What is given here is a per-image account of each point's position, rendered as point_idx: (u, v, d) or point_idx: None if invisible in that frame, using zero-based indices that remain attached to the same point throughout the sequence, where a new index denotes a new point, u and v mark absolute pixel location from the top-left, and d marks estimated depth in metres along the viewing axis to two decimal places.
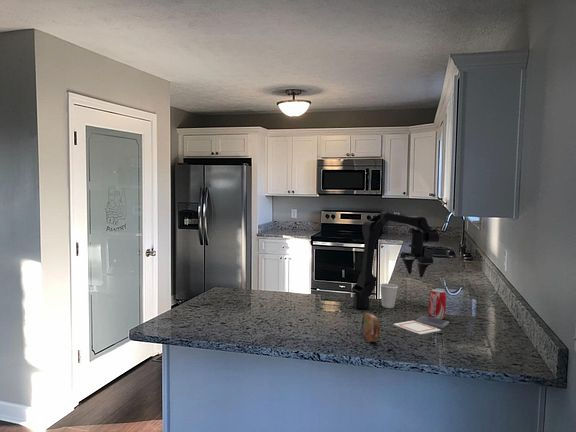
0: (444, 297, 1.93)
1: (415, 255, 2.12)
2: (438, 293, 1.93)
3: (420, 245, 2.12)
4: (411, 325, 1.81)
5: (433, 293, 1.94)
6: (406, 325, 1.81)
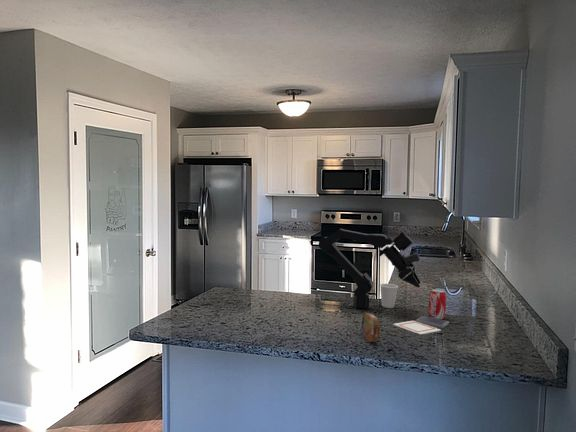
0: (444, 297, 1.93)
1: (399, 271, 1.98)
2: (438, 293, 1.93)
3: (395, 260, 1.98)
4: (411, 325, 1.81)
5: (433, 293, 1.94)
6: (406, 325, 1.81)
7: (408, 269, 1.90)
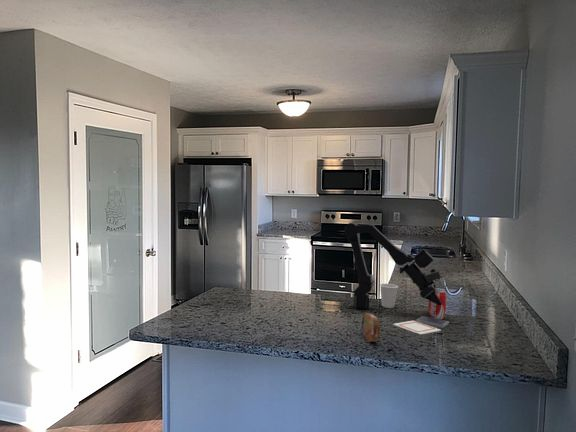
0: (444, 297, 1.93)
1: (420, 289, 1.96)
2: (438, 293, 1.93)
3: (416, 277, 1.96)
4: (411, 325, 1.81)
5: None
6: (406, 325, 1.81)
7: (430, 288, 1.88)
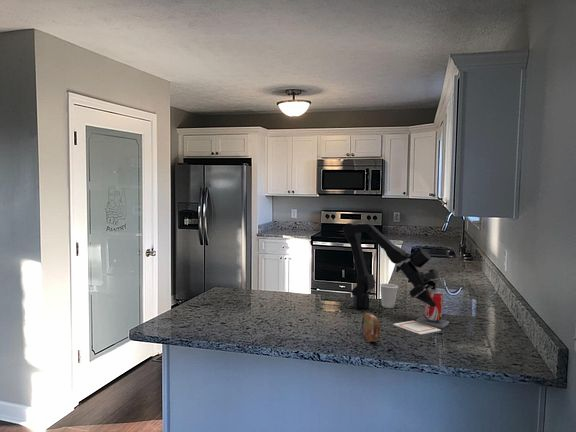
0: (438, 298, 1.83)
1: None
2: (432, 294, 1.84)
3: (411, 277, 1.89)
4: (411, 325, 1.81)
5: None
6: (406, 325, 1.81)
7: (419, 287, 1.81)
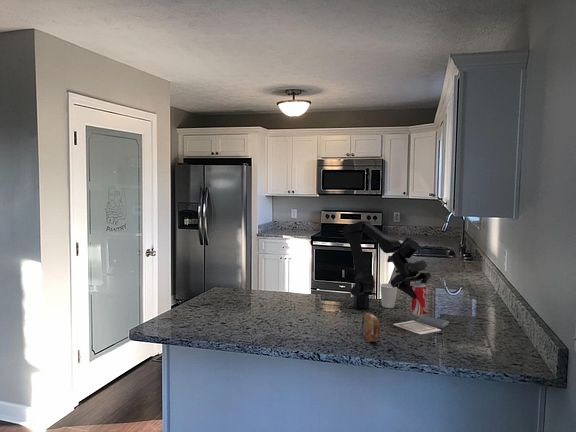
0: (420, 292, 1.76)
1: None
2: (414, 287, 1.77)
3: (398, 267, 1.85)
4: (411, 325, 1.81)
5: None
6: (406, 325, 1.81)
7: (397, 277, 1.76)
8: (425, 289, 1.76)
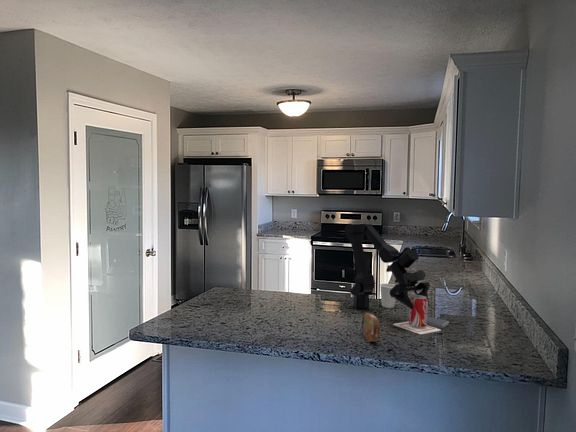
0: (420, 304, 1.77)
1: None
2: (414, 299, 1.78)
3: (397, 277, 1.85)
4: None
5: (411, 298, 1.80)
6: (406, 325, 1.81)
7: (396, 287, 1.76)
8: (425, 301, 1.77)
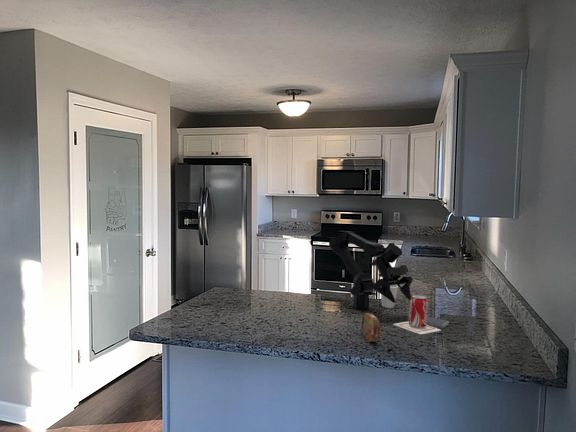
0: (420, 304, 1.77)
1: None
2: (414, 299, 1.78)
3: (381, 271, 1.93)
4: None
5: (411, 298, 1.80)
6: (406, 325, 1.81)
7: (379, 281, 1.84)
8: (425, 301, 1.77)
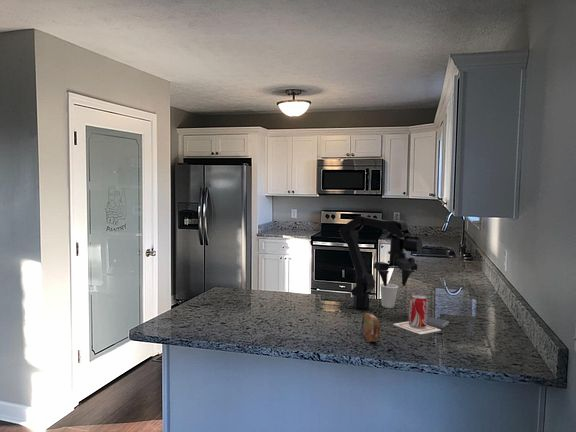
0: (420, 304, 1.77)
1: (388, 262, 1.96)
2: (414, 299, 1.78)
3: (390, 251, 1.94)
4: None
5: (411, 298, 1.80)
6: (406, 325, 1.81)
7: (379, 266, 1.90)
8: (425, 301, 1.77)
